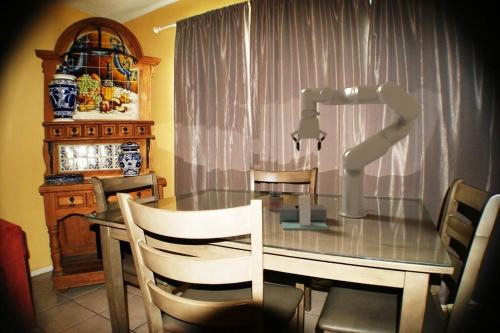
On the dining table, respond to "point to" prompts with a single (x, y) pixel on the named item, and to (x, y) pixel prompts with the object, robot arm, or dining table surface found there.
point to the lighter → (275, 201)
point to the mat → (297, 227)
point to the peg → (304, 210)
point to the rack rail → (292, 213)
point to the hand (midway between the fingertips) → (308, 150)
